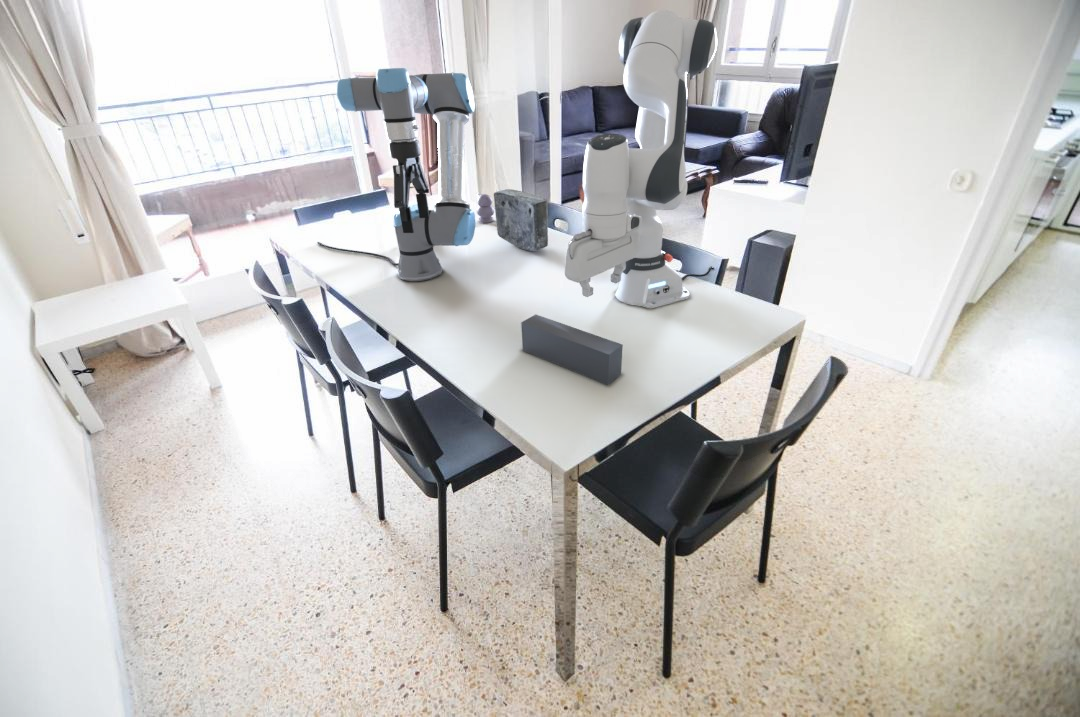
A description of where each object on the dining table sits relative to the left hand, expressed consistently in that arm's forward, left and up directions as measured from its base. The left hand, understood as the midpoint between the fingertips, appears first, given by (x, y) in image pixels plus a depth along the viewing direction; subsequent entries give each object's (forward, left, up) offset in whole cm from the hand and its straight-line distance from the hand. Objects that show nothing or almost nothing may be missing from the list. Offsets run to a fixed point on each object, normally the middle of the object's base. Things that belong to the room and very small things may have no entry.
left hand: (417, 225), depth 134 cm
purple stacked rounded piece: (-27, +92, -27) cm, 100 cm away
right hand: (+56, -16, -5) cm, 59 cm away
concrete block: (+4, +63, -27) cm, 69 cm away
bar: (+48, -13, -27) cm, 56 cm away
